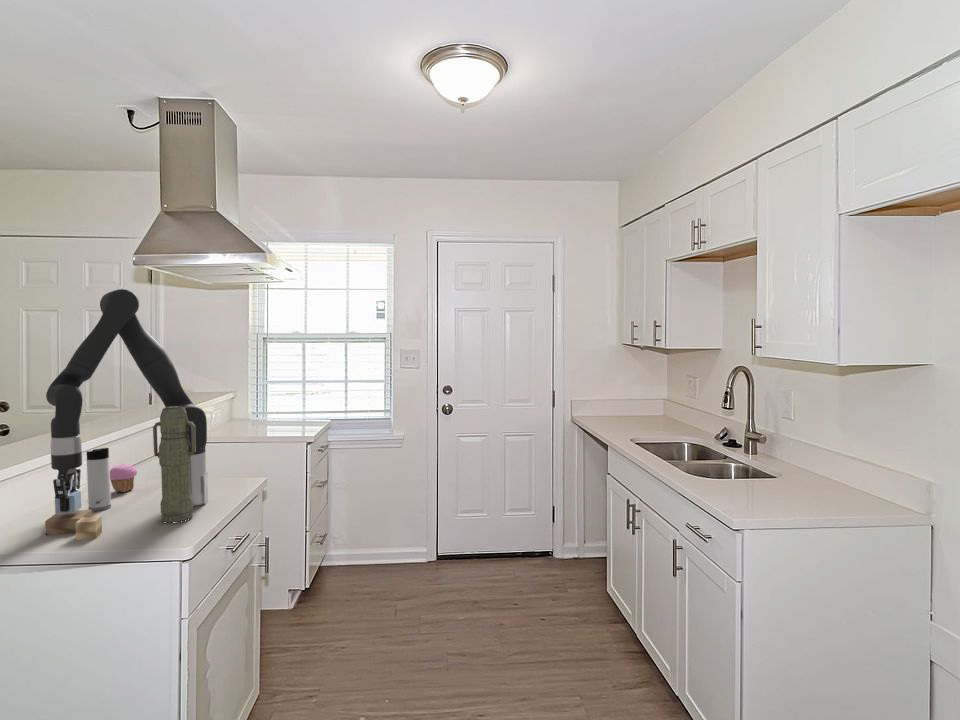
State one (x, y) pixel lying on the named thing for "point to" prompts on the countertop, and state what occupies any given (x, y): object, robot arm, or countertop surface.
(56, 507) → the slate block
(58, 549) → the countertop surface
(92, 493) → the travel mug
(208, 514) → the countertop surface
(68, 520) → the walnut plinth
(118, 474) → the cupcake
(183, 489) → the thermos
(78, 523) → the oak block
